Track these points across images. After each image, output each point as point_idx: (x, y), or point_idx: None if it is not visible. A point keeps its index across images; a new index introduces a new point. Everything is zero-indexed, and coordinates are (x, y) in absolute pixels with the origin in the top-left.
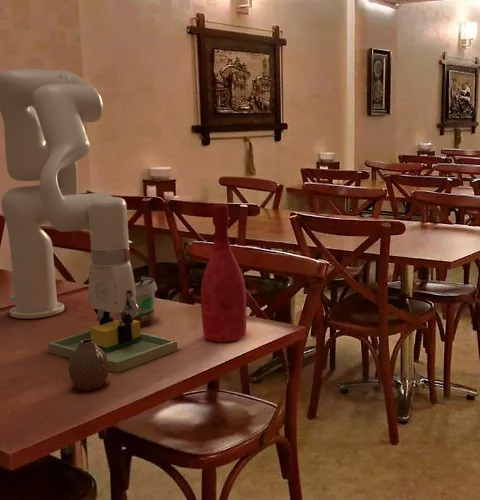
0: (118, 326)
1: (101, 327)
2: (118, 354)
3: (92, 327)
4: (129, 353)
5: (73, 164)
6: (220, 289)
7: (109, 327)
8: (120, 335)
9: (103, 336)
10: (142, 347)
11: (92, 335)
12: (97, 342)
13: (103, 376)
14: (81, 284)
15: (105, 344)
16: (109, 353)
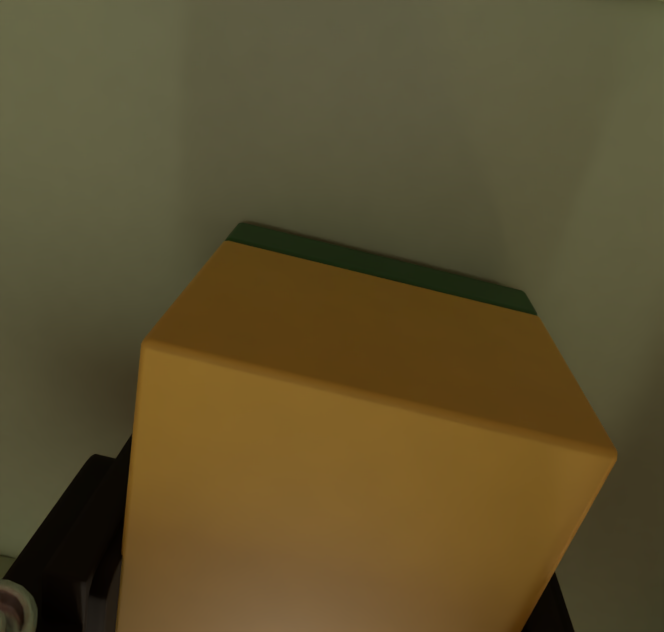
0: (53, 570)
1: (411, 526)
2: (85, 221)
3: (584, 490)
4: (7, 286)
5: None
6: None
7: (273, 555)
8: (113, 466)
9: (235, 311)
10: (38, 459)
11: (524, 365)
12: (403, 295)
13: None
14: None
15: (232, 256)
16: (205, 217)
